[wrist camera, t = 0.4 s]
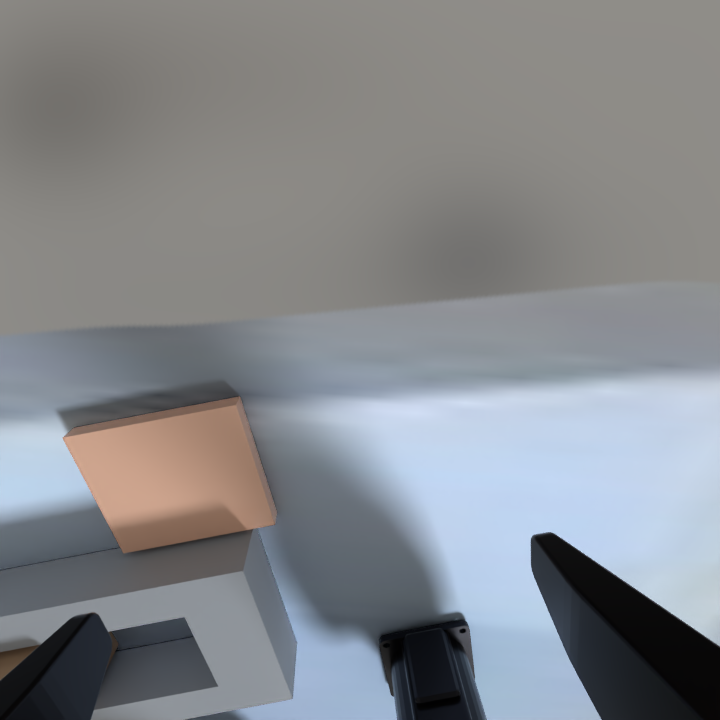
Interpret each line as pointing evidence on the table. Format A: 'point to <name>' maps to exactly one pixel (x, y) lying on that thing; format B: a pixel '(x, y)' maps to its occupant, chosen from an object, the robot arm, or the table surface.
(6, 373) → the table surface
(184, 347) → the table surface
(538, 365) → the table surface
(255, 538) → the pocket board
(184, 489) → the terracotta tile
